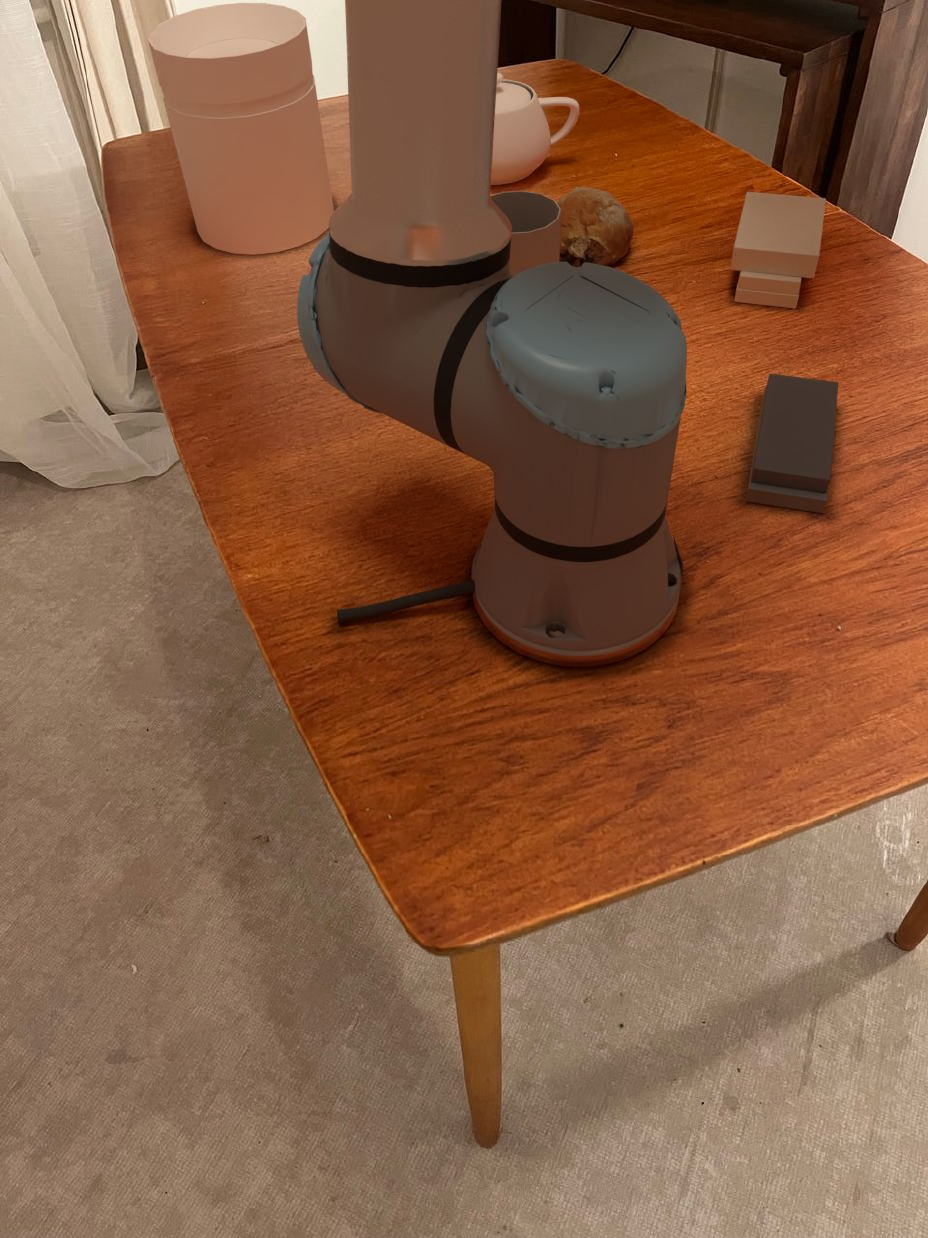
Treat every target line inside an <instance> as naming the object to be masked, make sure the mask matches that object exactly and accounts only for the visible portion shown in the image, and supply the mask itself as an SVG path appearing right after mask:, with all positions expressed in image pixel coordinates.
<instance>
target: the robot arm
mask: <svg viewBox="0 0 928 1238" xmlns="http://www.w3.org/2000/svg"><path fill="white" fill-rule="evenodd" d="M344 7H345V8H344V10H345V12H344V13H345V36H346V37H345V38H346V42H345V43H346V65H347V66H346V67H347V68H346V70H347V94H348V95H347V97H348V125H349V126H348V127H349V155H350V157H349V158H350V181H351V182H350V183H351V184H350V186H351V191H350V192H351V193H350V194H349V195H348V196H347V197H346V198H345V199H344V200H343V202H341V204H339V206H338V207H336V209H335V210H334V212H333V213H332V215H331V216H330V220H329V228H328V233H327V234H326V235H325V236H324V237H322V239H321V240H320V241H319V242H318V243H317V245H316V246H315V247H314V249H313V251H312V253H311V254H310V257H309V259H308V261H307V262H308V263H309V265H310V268H311V269H310V271H309V272H308V274H303V275H302V276H301V279H300V283H299V287H298V294H297V300H296V301H297V302H296V303H297V304H296V316H297V327H298V333H299V337H300V340H301V344H302V346H303V347H302V348H303V350H304V352H305V354H306V357H307V358H308V359H307V360H309V362H310V365H312V367H313V368H314V370H315V371H316V373H317V374H318V375H319V376H320V378H321V379H323V380H324V381H325V382H326V383H327V384H328V385H330V386H331V387H333V388H334V389H336V390H337V391H339V392H341V393H342V394H344V395H345V396H346V397H347V398H348V399H349V400H351V401H352V402H354V403H356V404H359V405H361V406H362V407H363V408H364V409H366V410H368V411H371V412H374V413H377V414H383V415H385V416H387V417H388V418H391V419H393V420H395V421H396V422H399V423H401V424H402V425H405V426H407V427H408V428H411V429H413V430H414V431H417V432H419V433H421V434H423V435H425V436H427V437H429V438H431V439H433V440H435V441H437V442H439V443H441V444H443V445H445V446H447V447H449V448H451V449H454V450H456V451H458V452H460V453H462V454H464V455H466V456H468V457H470V458H472V459H474V460H475V461H478V462H480V463H482V464H483V465H485V466H487V467H488V468H490V470H491V471H492V472H493V473H492V474H493V492H494V508H493V511H492V513H491V515H490V519H489V522H488V524H487V528H486V529H485V532H484V535H483V537H482V538H481V541H480V543H479V545H478V547H477V548H476V552H475V554H474V557H473V560H472V566H471V580H467V581H462V582H458V583H453V584H450V585H445V586H441V587H437V588H432V589H427V590H424V591H419V592H416V593H412V594H407V595H404V596H400V597H397V598H393V599H389V600H386V601H381V602H377V603H372V604H368V605H364V606H357V607H350V608H341V609H337V610H336V617H337V622H338V623H345V622H353V621H360V620H365V619H371V618H375V617H380V616H384V615H388V614H392V613H396V612H399V611H403V610H407V609H410V608H415V607H418V606H423V605H426V604H431V603H434V602H439V601H443V600H447V599H452V598H453V599H454V598H456V597H461V596H465V595H470V594H472V599H473V603H474V607H475V610H476V612H477V614H478V616H479V618H480V620H481V622H482V623H483V624H484V626H485V628H486V629H487V630H488V631H489V632H490V633H491V634H492V636H494V638H496V639H497V640H498V641H499V642H501V643H502V644H503V645H505V646H506V647H508V648H509V649H511V650H512V651H514V652H516V653H518V654H519V655H522V656H524V657H526V658H529V659H532V660H535V661H538V662H540V663H545V664H549V665H555V666H559V667H560V666H561V667H572V668H587V667H597V666H604V665H609V664H613V663H617V662H620V661H623V660H626V659H628V658H631V657H633V656H635V655H637V654H639V653H642V651H644V650H646V649H647V648H649V647H650V646H652V645H653V644H654V643H655V642H657V641H658V640H659V639H660V637H662V636H663V635H664V633H665V632H666V631H667V630H668V628H669V627H670V625H671V623H672V622H673V620H674V617H675V615H676V613H677V610H678V605H679V601H680V595H681V587H682V577H684V563H683V559H682V556H681V553H680V551H679V548H678V545H677V542H676V538H675V535H674V534H673V535H672V533H671V529H670V525H669V523H668V519H667V516H666V512H667V506H668V505H667V504H668V499H669V493H670V487H671V481H672V476H673V475H672V474H673V468H674V462H675V455H676V449H677V445H678V437H679V432H680V424H681V417H682V414H683V412H684V409H685V406H686V399H687V391H688V389H687V361H688V360H687V359H688V343H687V336H686V334H685V333H684V331H683V325H682V321H681V319H680V317H679V316H678V314H677V312H676V310H675V309H674V308H673V306H672V305H671V304H670V302H669V301H668V300H667V299H666V298H665V297H664V296H663V295H662V294H661V293H660V292H658V291H657V290H656V289H655V288H653V287H652V286H651V285H649V284H647V283H646V282H644V281H643V280H641V279H639V278H637V277H635V276H634V275H632V274H630V273H628V272H625V271H622V270H620V269H617V268H614V267H610V266H608V265H607V266H603V265H598V264H593V263H583V264H582V266H581V267H578V268H577V267H573V266H571V265H570V264H569V263H568V262H554V263H546V264H542V265H537V266H535V267H532V268H529V269H526V270H524V271H521V272H519V273H518V274H516V275H514V276H513V275H511V274H510V270H509V266H510V248H511V236H512V226H511V222H510V221H509V219H508V218H507V217H506V215H505V214H504V213H503V212H502V211H501V210H500V209H499V208H498V206H497V205H496V204H495V203H494V202H493V201H492V199H491V197H490V196H491V186H492V185H491V172H492V155H493V138H494V121H495V104H496V86H497V73H498V66H499V50H500V33H501V15H502V0H344Z"/></svg>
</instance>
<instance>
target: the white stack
mask: <svg viewBox="0 0 928 1238" xmlns="http://www.w3.org/2000/svg"><path fill="white" fill-rule="evenodd" d="M802 278H803V277H795V276H786V275H776V274H767V273H757V272H748V271H739V276H738V281H737V284H736V289H735V295H734V303H743V304H752V305H760V306H768V307H769V306H770V307H776V308H777V307H778V308H786V309H797V307H798V301H799V297H800V291H801V284H802Z"/></svg>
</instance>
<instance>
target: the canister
mask: <svg viewBox="0 0 928 1238" xmlns="http://www.w3.org/2000/svg"><path fill="white" fill-rule="evenodd" d="M309 39H310V38H309V32H308V26H307V18H306V17H305V16H304V15H303V14H302V13H301V12H299V10H296V9H293V8H290V7H288V6H285V5H280V4H273V3H267V2H236V3H226V4H217V5H216V4H215V5H211V6H206V7H201V8H196V9H193V10H189V11H186V12H183V13H180V14H176V15H174V16H172V17H170V18H168V19H166V20H164V21H162V22H160V23H158V24H157V25H156V26H155V27H154V28H153V29H152V30H150V32H149V35H148V41H147V42H148V46H149V50H150V55H151V58H152V62H153V65H154V70H155V73H156V77H157V81H158V84H159V87H160V88H161V92H162V96H163V104H164V108H165V112H166V114H167V115H166V116H167V119H168V123H169V127H170V131H171V135H172V139H173V143H174V146H175V151H176V155H177V159H178V162H179V165H180V166H179V167H180V169H181V174H182V178H183V181H184V185H185V188H186V193H187V197H188V201H189V204H190V208H191V212H192V215H193V220H194V224H195V227H196V232H197V233H198V235H199V237H200V238H201V240H202V242H203V243H205V244H206V245H208V246H210V247H211V248H214V250H218V251H222V252H226V253H230V254H235V255H237V254H238V255H254V256H255V255H265V254H273V253H279V252H283V251H287V250H290V249H294V248H298V247H301V246H303V245H305V244H308V243H309V242H311V241H314V240H315V239H317V238H318V237H320V236H321V235H322V234H324V233H325V232H326V231H328V230H329V220H330V216H331V215H332V213H333V212H334V211H335V210H334V209H335V208H334V202H333V195H332V188H331V181H330V175H329V169H328V162H327V155H326V147H325V142H324V134H323V127H322V121H321V114H320V107H319V100H318V94H317V86H316V80H315V75H314V73H313V72H314V71H313V59H312V54H311V53H312V52H311V47H310V40H309Z"/></svg>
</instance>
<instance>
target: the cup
mask: <svg viewBox="0 0 928 1238" xmlns="http://www.w3.org/2000/svg"><path fill="white" fill-rule="evenodd" d="M490 197H491V199H492V201H493V202H494V203H495V204H496V205H497V206H498V208H499V209H500V210H501V211H502V212H503V213H504V214H505V215H506V217H507V218H508V219H509V221H510V222H511V226H512V236H511V248H510V266H509V270H510V274H511V275H513V276H514V275H516V274H518V273H519V272H521V271H524V270H526V269H529V268H532V267H535V266H537V265H542V264H546V263H554V262H559V255H560V222H561V209H560V207H559V206H558V204H557V203H556V202H557V200H555V199H553V198H551V197H550V196H547V195H544V194H543V193H540V192H532V191H526V190H514V191H513V190H512V191H501V192H498V193H495V194H490Z"/></svg>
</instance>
